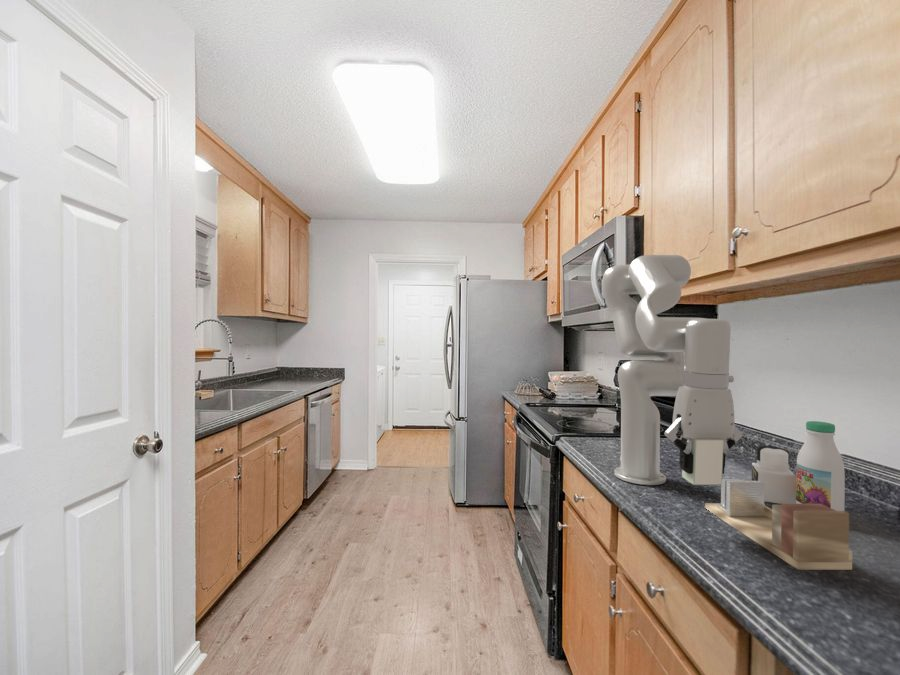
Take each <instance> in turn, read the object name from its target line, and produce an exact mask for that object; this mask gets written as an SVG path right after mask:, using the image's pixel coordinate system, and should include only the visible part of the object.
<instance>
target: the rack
mask: <svg viewBox="0 0 900 675" xmlns="http://www.w3.org/2000/svg"><path fill="white" fill-rule="evenodd" d="M716 504H721V502H718V503H717V502H715V503H713V502H705V503H704V509H705V508H706V509H707V510H706V509H705V510H706V511H708V510H709V511H710V513H711V514H712V513H713V515H714V516H715V515H716V516H715V517H717V518H719V519H720V520H722V521H723V522H725V523H726V524H728V525H729V526H731V527H732V528H733V529H735V530H737V531H738V532H740V533H741V534H742V535H744V536H746V537H747V538H748V539H751V541H754V542H755V543H757V544H758V545H760V546H761V547H763V548H764V549H765V550H767V551H769V552H771V553H772V554H773V555H775V556H777V557H778V558H780V560H781V559H782V561H784V562H785V563H787V564H788V565H790V566H791V567H793V568H795V569H797V570H798V571H799V570H800V571H803V570H807V571H808V570H810V571H811V570H813V571H820V570H821V571H823V570H825V571H826V570H827V571H828V570H832V571H834V570H835V571H840V570H841V571H844V570H846V571H847V570H848V571H849V570H850V571H851V570H853V551H852V550H851V549H850V513H849V512H847V511H845V510H844V511H836V510H834V509H831V508H829V507H827V506H825V505H822V504H796V503H795V504H772V505H771V506H772V507H768V506H767V505H764V517H735V516H728V515H726V512H724V511H723V510H721V509H720V508H718V507H716ZM709 511H708V512H709Z"/></svg>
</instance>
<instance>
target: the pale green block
mask: <svg viewBox="0 0 900 675" xmlns="http://www.w3.org/2000/svg"><path fill="white" fill-rule="evenodd" d="M723 445H724V439H694V440H693V447H692V450H691V454H693V473H692V474H688V473H687V472H685V471H684V470H682V469H681V470H682V471H681V477H682V478H683V479H685V480H686V481H687V482H689V483H690V484H692V485H694V486H721V485H722V479H723V474H722V468H723Z"/></svg>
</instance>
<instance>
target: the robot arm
mask: <svg viewBox="0 0 900 675" xmlns="http://www.w3.org/2000/svg"><path fill="white" fill-rule="evenodd" d="M691 276H692V269H691V265H690V262H689V261H688V260H687V259H686V257H684V256H682V255H679V254H645V255H640V256H638V257H636V258H635V259H633V260H632V261H631V263H630V264H619V265H613V266H610V267H608V268H607V269H606V270H605V271H604V273H603V276H602V279H601V280H602V282H601V290H602V296H603V298H604V302H605V304H606V306H607V307H608V310H609V311H610V315H611V317H612V323H613V327H614V333H615V338H616V343H617V347H618V348H617V349H618V351H619V353H620V355H621V356H623V357H624V358H627V359H632V360H628V361H625V362H624V363H622V364H621V365H620V366H619V368H618V370H617V382H618V389H619V392H620V393H619V395H620V456H619V459H620V466H618V467H615V469H614V476H615V477H616V478H618V479H620V480H622V481H624V482H627V483H632V484H635V485H642V486H643V485H645V486H658V485H659V486H660V485H662V484H665V483H666V481H667V476H666V475H665V474H664V473H663V472H661V471H660V465H661V464H660V461H661V460H660V455H661V454H660V451H661V450H660V447H661V442H660V441H661V414H660V411H659V409H658V407H657V405H656V404H655V403H654V401H653V399H651V398H652V397H675V401H674V405H673V413H672V423H671V425H670V426H668V427H667V429H666V430H665V431H664V433H663V434H664V436H665V437H666V438H667V439H669V441H671V442H672V443H673V444H674V445H675V447H676V448H677V449H678V450H679V466H680V469H681V470H684V471H685V472H687V473H688V474H692V473H693V454H691V450H692V447H693V440H694V439H724V445H723V468H722V475H724V474H725V468H726V455H728V454H729V452H730V450H731V449H732V447H733V446H734V445H735V444H736V443H737V442H738V441H740V439H741V438H743V436H744V435H743V432H742V431H740V429H739V428H738V426H736V424H735V408H734V407H735V406H734V399H733V393H732V390H731V389H730V388H729V385H730V384H729V383H733V382H734V381H735V379H734V376H733V375H730V372H729V371H730V356H731V355H730V350H731V334H732V333H731V332H732V330H731V328H732V327H731V324H730V322H729V321H728V320H726V319H722V318H705V317H686V316H684V317H683V316H682V317H681V316H680V317H677V316H658V314H659V315H660V314H661V313H663V312H666V311H668V310H670V309H671V308H673V307H674V306H676V305H677V304H678V302H679V301H680V299H681V297H682V289H681V288H682V287H684V286H686V285H687V284H688V282H689V280H690V278H691ZM630 295H639V296H640V298H641V300H640V301H639V303H638V302H637V301H636V300H635V299H634V298H633V297H632V296H630ZM633 359H634V360H633ZM677 434H678V435H680V437H678V436H677Z"/></svg>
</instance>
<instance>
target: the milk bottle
mask: <svg viewBox="0 0 900 675" xmlns="http://www.w3.org/2000/svg"><path fill="white" fill-rule="evenodd" d="M805 429H806V430H805V432H806V433H807V434H806V435H807V436H806V439H805V441H804V442H803V445H801V447H800V449H799V451H798V453H797V457H796V468H795V470H796V471H795V476H796V497H795V504H822V505H825V506H827V507H829V508H831V509H834V510H836V511H845V507H846V506H845V501H846V500H845V496H846V494H845V493H846V491H845V489H846V488H845V487H846V482H845V481H846V480H845V479H846V478H845V475H846V474H845V465H844V464H845V463H844V461H843V458H842V455H841V453H840V451H839V450H838V448H837V446H836V443H835V439H834V436H835V435H836V434H835V432H836V425H835V424H834V423H830V422H825V421H815V420H811V421H806V422H805Z"/></svg>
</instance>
